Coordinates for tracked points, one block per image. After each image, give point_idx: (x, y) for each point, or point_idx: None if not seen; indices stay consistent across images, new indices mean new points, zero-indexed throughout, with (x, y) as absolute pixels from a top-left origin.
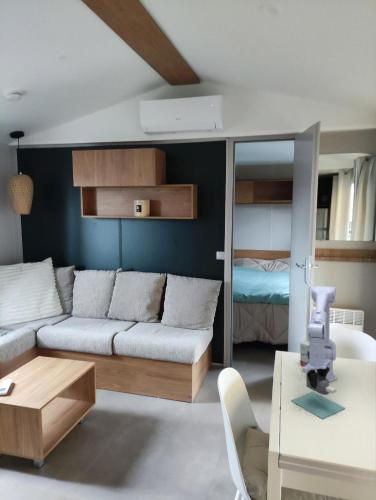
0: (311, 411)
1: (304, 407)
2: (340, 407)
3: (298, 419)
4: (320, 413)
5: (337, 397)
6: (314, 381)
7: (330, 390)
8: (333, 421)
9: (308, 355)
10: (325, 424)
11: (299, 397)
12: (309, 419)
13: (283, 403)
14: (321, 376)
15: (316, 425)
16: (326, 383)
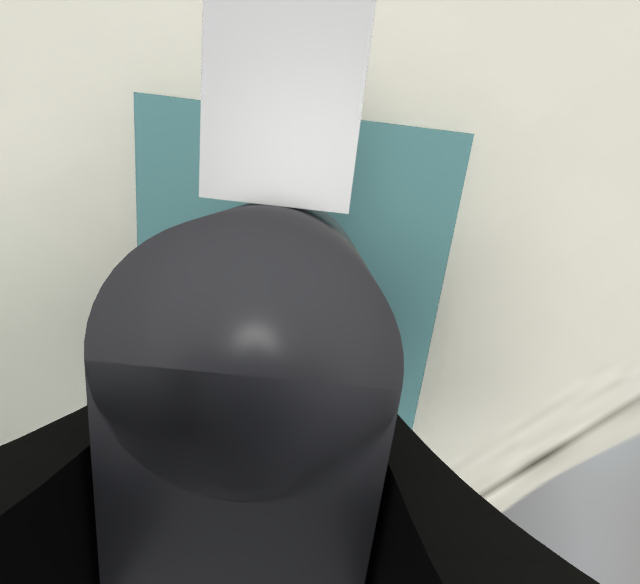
0: (436, 271)
1: (422, 346)
2: (165, 131)
3: (605, 275)
4: (410, 198)
5: (27, 268)
6: (461, 482)
7: (368, 59)
8: (427, 40)
9: None
10: (527, 64)
11: None
12: (546, 215)
13: (469, 479)
14: (104, 521)
15: (596, 113)
16: (306, 225)
